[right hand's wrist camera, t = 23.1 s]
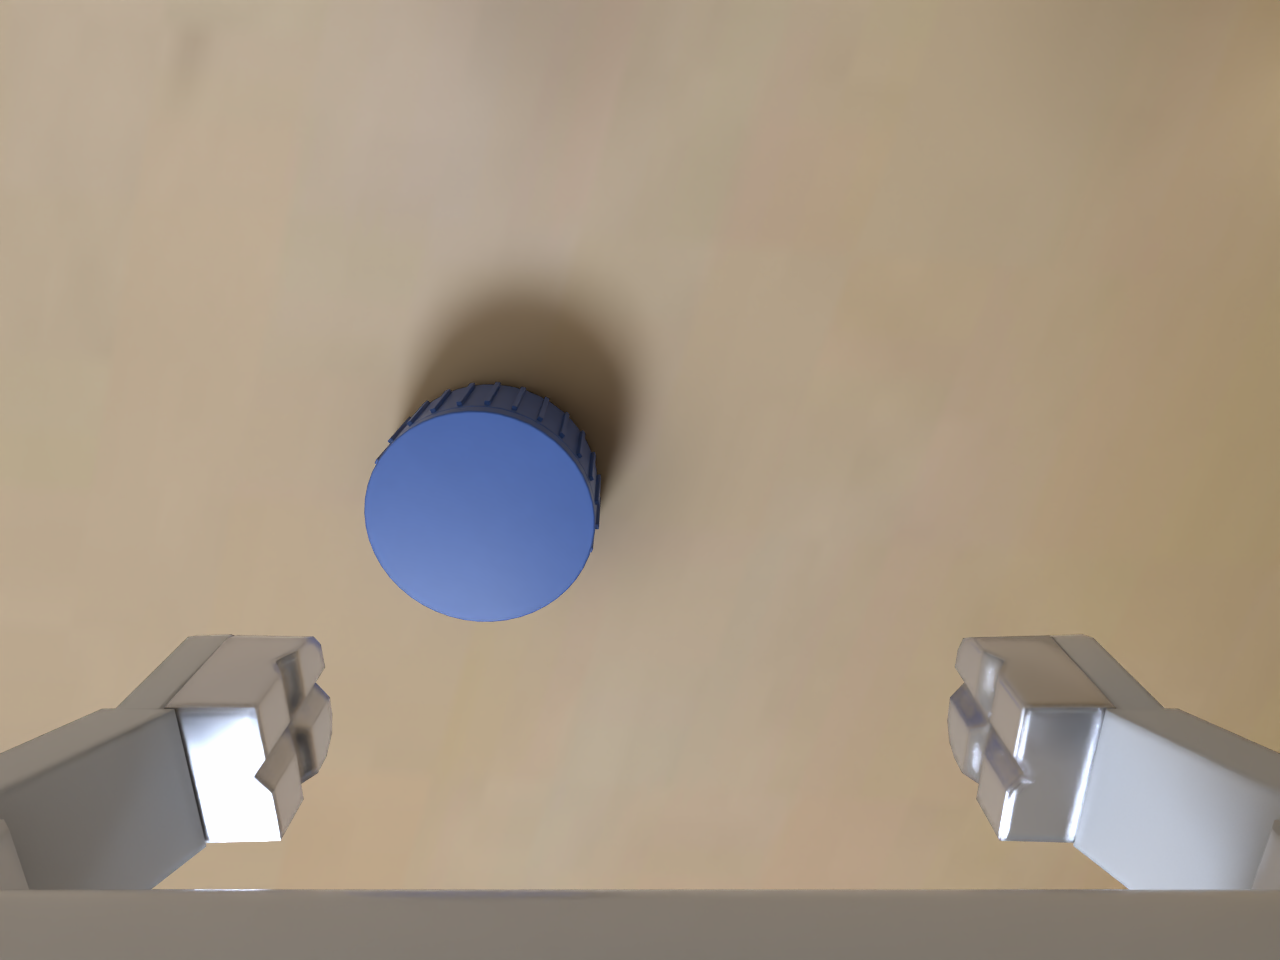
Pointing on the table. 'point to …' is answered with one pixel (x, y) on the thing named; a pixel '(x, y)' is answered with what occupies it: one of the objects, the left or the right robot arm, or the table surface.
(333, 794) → the table surface
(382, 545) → the lid
